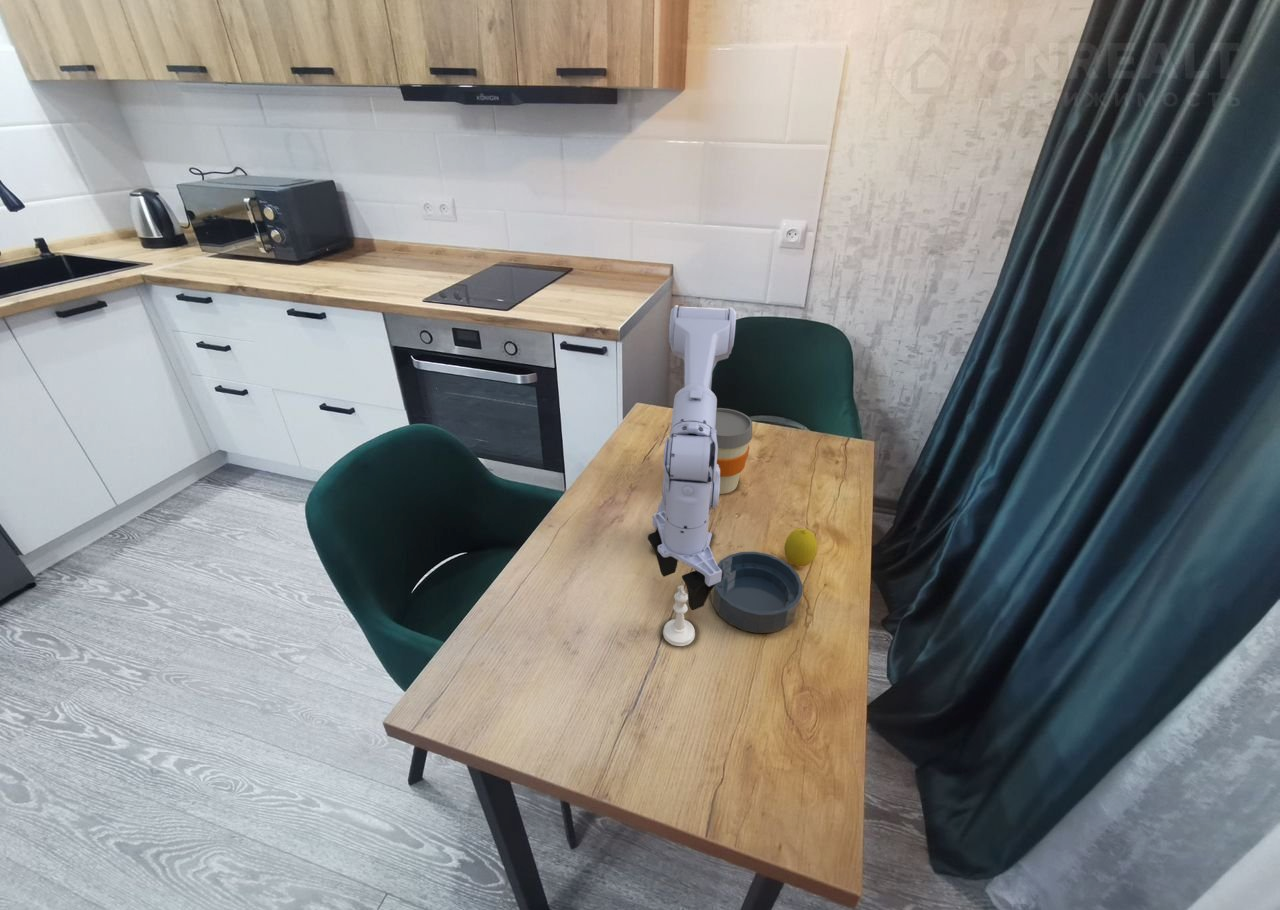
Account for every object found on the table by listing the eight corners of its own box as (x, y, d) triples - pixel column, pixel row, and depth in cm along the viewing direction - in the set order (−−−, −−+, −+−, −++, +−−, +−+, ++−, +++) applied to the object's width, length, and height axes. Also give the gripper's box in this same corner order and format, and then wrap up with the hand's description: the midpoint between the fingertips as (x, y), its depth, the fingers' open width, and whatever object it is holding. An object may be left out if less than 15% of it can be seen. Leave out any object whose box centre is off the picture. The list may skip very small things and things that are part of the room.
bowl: (703, 624, 89) (705, 603, 87) (718, 564, 101) (720, 544, 98) (796, 644, 86) (800, 623, 83) (799, 580, 97) (803, 560, 95)
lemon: (814, 578, 98) (822, 542, 94) (781, 573, 99) (788, 538, 95) (812, 556, 103) (820, 522, 98) (781, 552, 103) (787, 518, 99)
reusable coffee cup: (754, 477, 125) (763, 417, 117) (731, 506, 115) (738, 442, 108) (704, 460, 130) (708, 402, 122) (677, 486, 121) (680, 425, 113)
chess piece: (673, 651, 84) (675, 603, 79) (657, 628, 88) (658, 581, 83) (701, 638, 86) (705, 591, 81) (684, 616, 90) (687, 570, 85)
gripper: (634, 496, 79) (634, 568, 86) (692, 557, 68) (686, 634, 75) (676, 482, 82) (673, 553, 89) (738, 539, 71) (728, 614, 78)
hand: (681, 589), depth 82 cm, fingers open, 7 cm apart
